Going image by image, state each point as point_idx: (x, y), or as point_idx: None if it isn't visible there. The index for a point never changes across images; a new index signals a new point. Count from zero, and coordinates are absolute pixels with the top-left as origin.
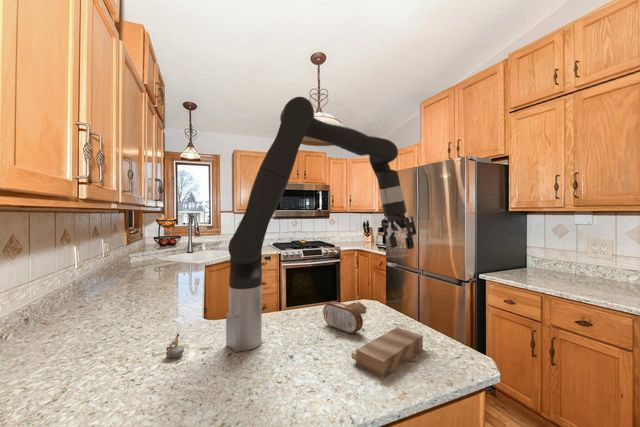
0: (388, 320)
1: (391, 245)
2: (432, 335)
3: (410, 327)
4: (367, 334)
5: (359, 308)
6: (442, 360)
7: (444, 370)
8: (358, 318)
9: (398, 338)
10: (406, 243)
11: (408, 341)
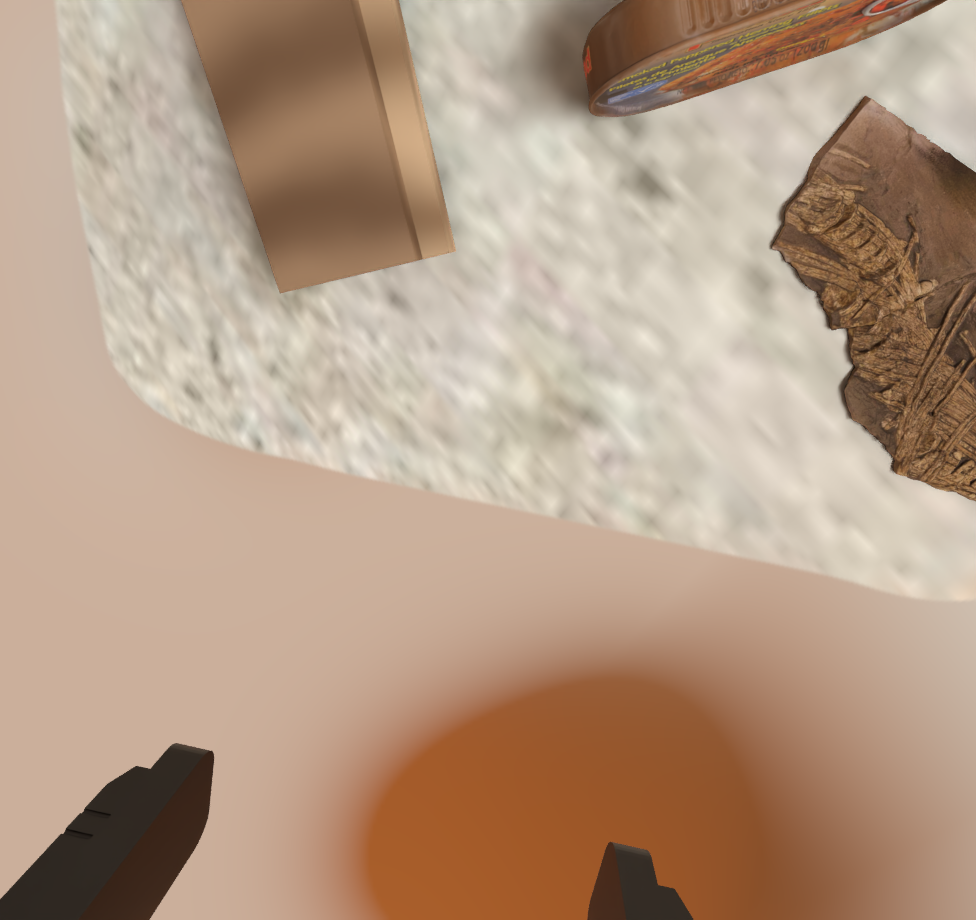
0: (648, 424)
1: (636, 882)
2: (394, 448)
3: (511, 443)
4: (580, 159)
5: (919, 411)
6: (216, 276)
7: (158, 211)
8: (590, 53)
9: (301, 140)
10: (137, 818)
11: (254, 162)
